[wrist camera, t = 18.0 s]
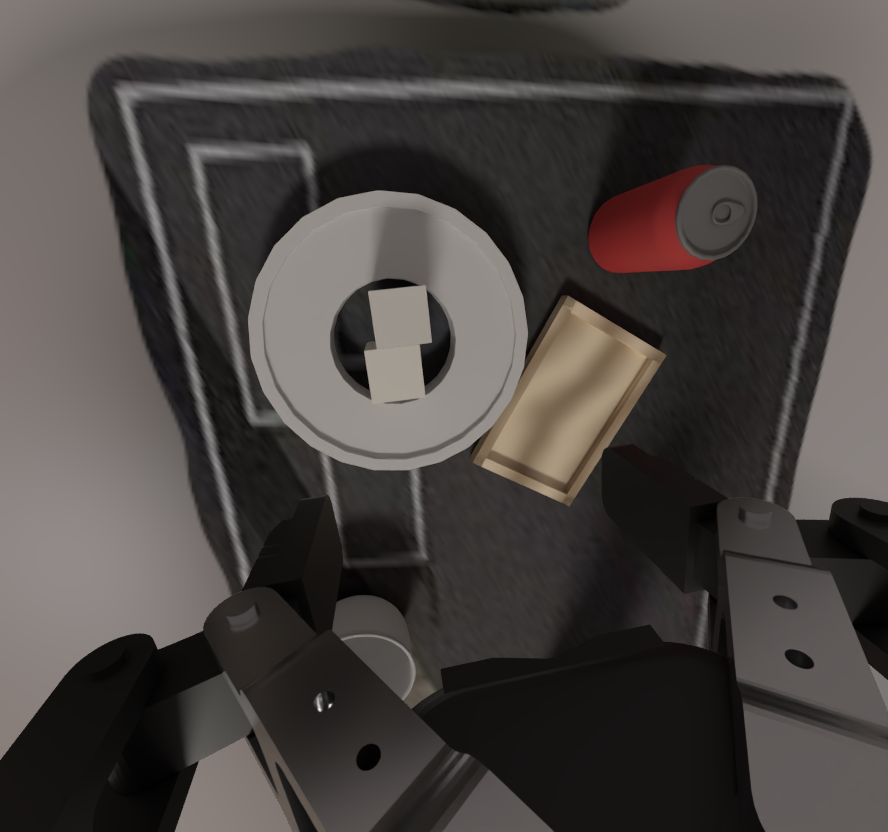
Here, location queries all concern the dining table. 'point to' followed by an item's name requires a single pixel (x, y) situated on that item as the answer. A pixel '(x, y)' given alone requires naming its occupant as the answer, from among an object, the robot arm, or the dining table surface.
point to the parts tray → (568, 402)
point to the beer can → (675, 221)
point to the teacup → (377, 639)
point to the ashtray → (355, 265)
